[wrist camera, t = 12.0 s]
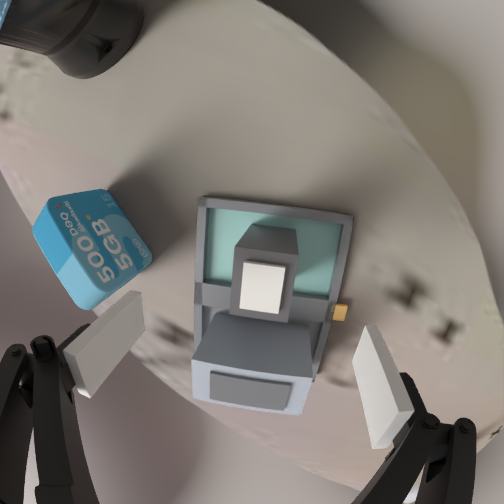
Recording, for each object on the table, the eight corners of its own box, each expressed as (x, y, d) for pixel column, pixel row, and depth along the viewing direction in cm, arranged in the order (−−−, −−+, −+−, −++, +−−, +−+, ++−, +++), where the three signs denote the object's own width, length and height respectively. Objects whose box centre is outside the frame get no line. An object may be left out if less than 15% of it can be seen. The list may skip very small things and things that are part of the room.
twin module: (215, 312, 35) (190, 361, 25) (308, 326, 34) (313, 380, 24) (214, 349, 36) (192, 400, 26) (299, 361, 35) (300, 417, 25)
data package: (157, 258, 34) (103, 296, 23) (136, 276, 35) (83, 316, 24) (107, 187, 32) (42, 198, 21) (89, 207, 33) (27, 225, 22)
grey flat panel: (202, 196, 31) (198, 197, 29) (363, 217, 29) (366, 219, 28) (197, 357, 38) (194, 364, 36) (323, 376, 36) (324, 383, 34)
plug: (251, 223, 31) (233, 248, 21) (295, 229, 30) (299, 257, 20) (246, 273, 33) (227, 316, 23) (288, 279, 32) (287, 325, 22)
